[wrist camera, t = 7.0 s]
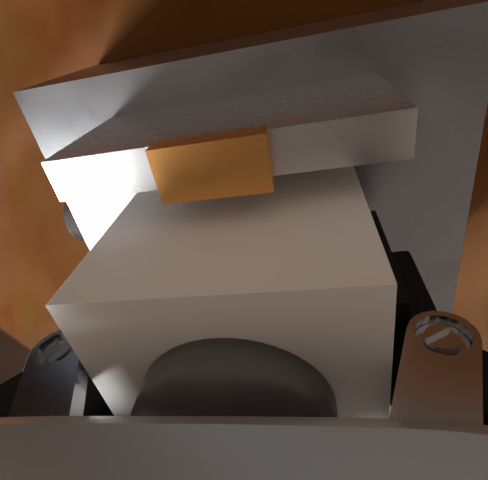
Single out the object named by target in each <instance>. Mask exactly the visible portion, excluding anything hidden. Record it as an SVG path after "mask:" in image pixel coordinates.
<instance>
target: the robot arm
mask: <svg viewBox="0 0 488 480" xmlns="http://www.w3.org/2000/svg"><path fill="white" fill-rule="evenodd" d="M370 212H371V215H372V217H373V220H374V223H375V226H376V228H377V231H378V234H379V236H380V239H381V242H382V244H383V247H384V250H385V253H386V255H387V258H388V261H389V263H390V266H391V269H392V271H393V274H394V277H395V280H396V282H397V297H396V313H395V330H394V346H393V362H392V379H391V395H390V405H391V411H390V416H389V418H355V417H260V416H114V414H113V413H112V411H111V410H110V408H109V406H108V405H107V403H106V402H105V400H104V398H103V397H102V395H101V394H100V392H99V391H98V389H97V387H96V386H95V384H94V383H93V381H92V379H91V378H90V376H89V375H88V373H87V371H86V370H85V368H84V367H83V365H82V363H81V362H80V360H79V359H78V357H77V355H76V354H75V352H74V351H73V349H72V347H71V346H70V344H69V343H68V341H67V339H66V338H65V336H64V335H63V333H62V331H61V330H58V331H55V332H53V333H51V334H49V335H47V336H46V337H44V338H43V339H42V340H40V341H39V342H38V343H37V344H36V345H35V346H34V347H33V348H32V350H31V351H30V353H29V355H28V358H27V360H26V363H25V367H24V369H23V372H21V373H19V374H18V375H16V376H14V377H13V378H11V379H9V380H8V381H6V382H4V383H2V384H1V385H0V480H488V352H486V351H484V350H482V340H481V336H480V333H479V332H478V331H477V329H476V328H475V326H473V325H472V324H471V323H470V322H468V321H467V320H466V319H464V318H462V317H460V316H458V315H455V314H452V313H448V312H444V311H437V309H436V307H435V305H434V303H433V301H432V299H431V297H430V294H429V292H428V290H427V288H426V286H425V284H424V282H423V279H422V277H421V275H420V273H419V271H418V269H417V266H416V264H415V262H414V260H413V258H412V256H411V254H410V252H409V251H397V252H392V251H391V249H390V246H389V244H388V241H387V239H386V236H385V233H384V231H383V228H382V226H381V223H380V221H379V218H378V216H377V213H376V211H370Z"/></svg>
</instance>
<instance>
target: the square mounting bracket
mask: <svg viewBox="0 0 488 480" xmlns="http://www.w3.org/2000/svg"><path fill="white" fill-rule="evenodd" d="M13 93H14V95H15V98H16V100H17V102H18V104H19V106H20V108H21V110H22V112H23V114H24V116H25V118H26V120H27V122H28V124H29V126H30V128H31V130H32V132H33V134H34V137H35V139H36V141H37V143H38V145H39V147H40V149H41V151H42V153H43V155H44V157H45V159H46V160H44V161H42V162H41V164H42V166H43V168H44V170H45V172H46V174H47V176H48V178H49V180H50V182H51V184H52V186H53V188H54V190H55V192H56V194H57V196H58V198H59V200H60V202H63V201H65V204H64V220H65V224H66V227H67V229H68V231H69V232H70V234H71V235H72V236H73V237H74V238H75V239H77V240H79V241H86V243H87V245H88V247H89V250H91V249H92V247H93V246H94V245H95V244H96V243H97V241H98V240H99V239H100V238H101V236H102V235H103V234H104V233H105V231H106V230H107V229H108V228H109V227H110V225H111V224H112V223H113V222H114V220H115V219H116V218H117V217H118V216H119V214H120V213H121V212H122V211H123V209H124V208H125V207H126V206H127V204H128V203H129V202H130V201H131V200H132V198H133V197H134V196H135V195H136V193H137V192H145V191H153V190H158V192H159V195H160V198H161V201H162V204H163V205H165V204H174V203H183V202H192V201H201V200H209V199H218V198H227V197H236V196H245V195H254V194H263V193H271V192H274V189H275V176H277V175H285V174H293V173H301V172H310V171H318V170H326V169H334V168H343V167H351V166H354V169H355V172H356V174H357V177H358V180H359V182H360V185H361V188H362V190H363V193H364V196H365V199H366V201H367V204H368V207H369V209H370V211H376V213H377V216H378V218H379V221H380V223H381V226H382V228H383V231H384V233H385V236H386V239H387V241H388V244H389V246H390V249H391V251H392V252H397V251H409V252H410V254H411V256H412V258H413V260H414V262H415V264H416V266H417V269H418V271H419V273H420V275H421V277H422V279H423V282H424V284H425V286H426V288H427V290H428V292H429V294H430V297H431V299H432V301H433V303H434V305H435V307H436V309H437V311H444V312H448V313H452V307H453V302H454V296H455V290H456V284H457V278H458V273H459V267H460V261H461V255H462V249H463V244H464V238H465V232H466V226H467V220H468V215H469V209H470V203H471V197H472V191H473V186H474V180H475V174H476V168H477V162H478V157H479V151H480V145H481V139H482V133H483V128H484V122H485V116H486V110H487V104H488V0H423V1H418V2H413V3H408V4H403V5H398V6H392V7H387V8H382V9H377V10H372V11H367V12H362V13H357V14H352V15H347V16H342V17H337V18H332V19H327V20H322V21H316V22H311V23H306V24H301V25H296V26H291V27H286V28H281V29H276V30H271V31H266V32H261V33H256V34H251V35H246V36H241V37H235V38H230V39H225V40H220V41H215V42H210V43H205V44H200V45H195V46H190V47H185V48H180V49H175V50H170V51H165V52H159V53H154V54H149V55H144V56H139V57H134V58H129V59H124V60H119V61H114V62H109V63H104V64H99V65H95V66H92V67H89V68H86V69H83V70H80V71H77V72H74V73H70V74H67V75H64V76H61V77H58V78H55V79H52V80H49V81H46V82H43V83H40V84H37V85H34V86H30V87H27V88H24V89H21V90H18V91H15V92H13ZM390 411H391V405H390Z"/></svg>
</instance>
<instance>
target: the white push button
mask: <svg viewBox="0 0 488 480" xmlns="http://www.w3.org/2000/svg"><path fill="white" fill-rule="evenodd" d="M396 297H397V282H396V280H395V277H394V274H393V271H392V269H391V266H390V263H389V261H388V258H387V255H386V253H385V250H384V247H383V244H382V242H381V239H380V236H379V234H378V231H377V228H376V226H375V223H374V220H373V217H372V215H371V212H370V209H369V207H368V204H367V201H366V199H365V196H364V193H363V190H362V188H361V185H360V182H359V180H358V177H357V174H356V172H355V169H354V166H351V167H343V168H334V169H326V170H318V171H310V172H301V173H293V174H285V175H277V176H275V189H274V192H271V193H263V194H254V195H245V196H236V197H227V198H218V199H209V200H201V201H192V202H183V203H174V204H165V205H163V204H162V201H161V198H160V195H159V192H158V190H153V191H145V192H137V193H136V195H135V196H134V197H133V198H132V200H131V201H130V202H129V203H128V204H127V206H126V207H125V208H124V209H123V211H122V212H121V213H120V214H119V216H118V217H117V218H116V219H115V220H114V222H113V223H112V224H111V225H110V227H109V228H108V229H107V230H106V231H105V233H104V234H103V235H102V236H101V238H100V239H99V240H98V241H97V243H96V244H95V245H94V246H93V247H92V249H91V250H90V251H89V252H88V254H87V255H86V256H85V257H84V259H83V260H82V261H81V262H80V263H79V265H78V266H77V267H76V268H75V270H74V271H73V272H72V273H71V275H70V276H69V277H68V278H67V279H66V281H65V282H64V283H63V284H62V286H61V287H60V288H59V289H58V291H57V292H56V293H55V294H54V295H53V297H52V298H51V299H50V300H49V302H48V303H47V304H46V305H45V306H46V308H47V309H48V311H49V312H50V314H51V315H52V317H53V319H54V320H55V322H56V323H57V325H58V327H59V328H60V330H61V331H62V333H63V335H64V336H65V338H66V339H67V341H68V343H69V344H70V346H71V347H72V349H73V351H74V352H75V354H76V355H77V357H78V359H79V360H80V362H81V363H82V365H83V367H84V368H85V370H86V371H87V373H88V375H89V376H90V378H91V379H92V381H93V383H94V384H95V386H96V387H97V389H98V391H99V392H100V394H101V395H102V397H103V398H104V400H105V402H106V403H107V405H108V406H109V408H110V410H111V411H112V413H113V414H114V416H260V417H355V418H389V411H390V395H391V379H392V362H393V346H394V330H395V313H396Z"/></svg>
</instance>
